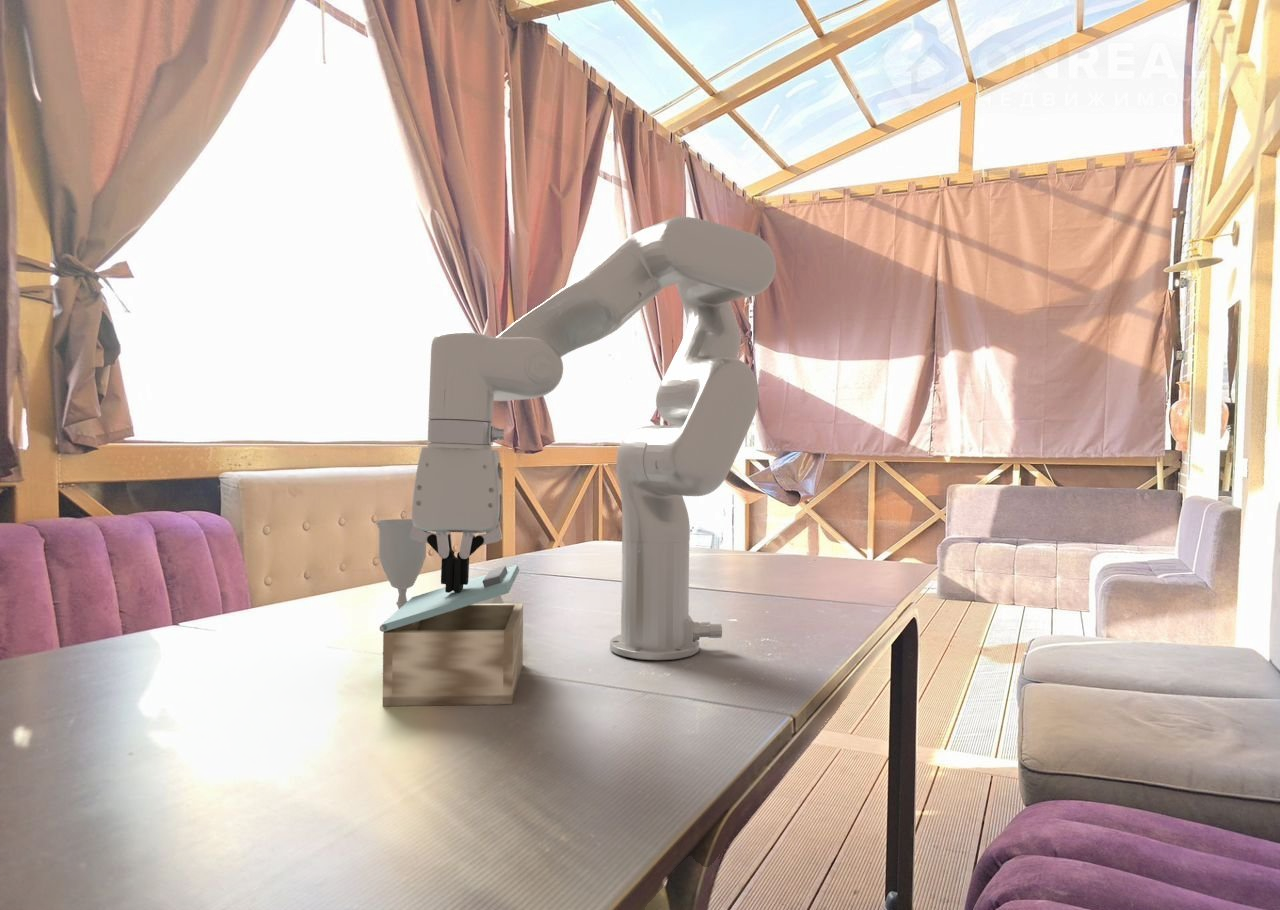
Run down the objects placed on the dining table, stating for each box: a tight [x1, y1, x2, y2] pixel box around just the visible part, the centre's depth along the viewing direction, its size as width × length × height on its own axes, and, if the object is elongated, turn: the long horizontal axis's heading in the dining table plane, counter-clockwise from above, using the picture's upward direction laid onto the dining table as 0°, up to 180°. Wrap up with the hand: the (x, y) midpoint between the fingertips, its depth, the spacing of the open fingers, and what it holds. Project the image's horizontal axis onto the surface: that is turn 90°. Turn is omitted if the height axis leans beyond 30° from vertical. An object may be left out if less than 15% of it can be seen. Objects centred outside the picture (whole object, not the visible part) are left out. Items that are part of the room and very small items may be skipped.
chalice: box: [375, 518, 427, 610], centre depth 108 cm, size 7×7×18 cm
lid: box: [379, 564, 520, 633], centre depth 94 cm, size 14×16×2 cm
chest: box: [382, 602, 524, 707], centre depth 94 cm, size 14×16×8 cm
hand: (454, 590), depth 94 cm, fingers closed
